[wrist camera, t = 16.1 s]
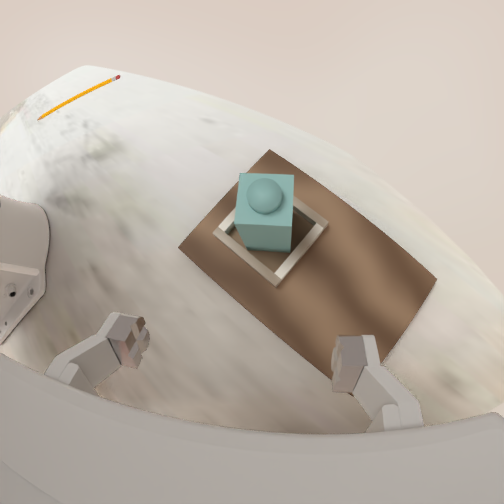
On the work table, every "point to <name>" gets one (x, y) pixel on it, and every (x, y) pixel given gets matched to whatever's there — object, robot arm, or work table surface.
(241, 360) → the work table surface
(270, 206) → the studded block
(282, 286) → the brown board with frame
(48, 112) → the pencil
